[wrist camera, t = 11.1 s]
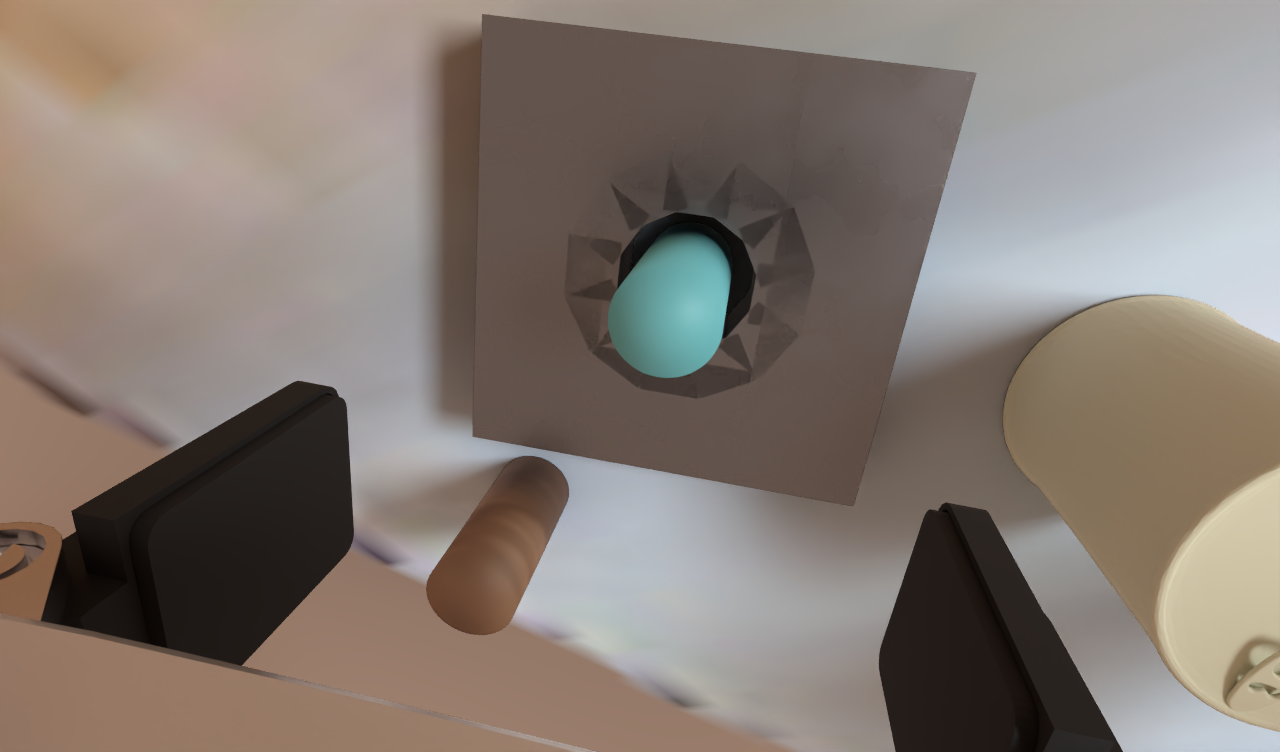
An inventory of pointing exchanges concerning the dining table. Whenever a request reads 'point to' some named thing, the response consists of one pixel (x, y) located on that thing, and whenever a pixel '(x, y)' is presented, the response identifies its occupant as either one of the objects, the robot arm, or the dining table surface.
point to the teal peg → (673, 302)
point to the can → (1168, 480)
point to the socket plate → (715, 187)
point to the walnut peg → (499, 548)
